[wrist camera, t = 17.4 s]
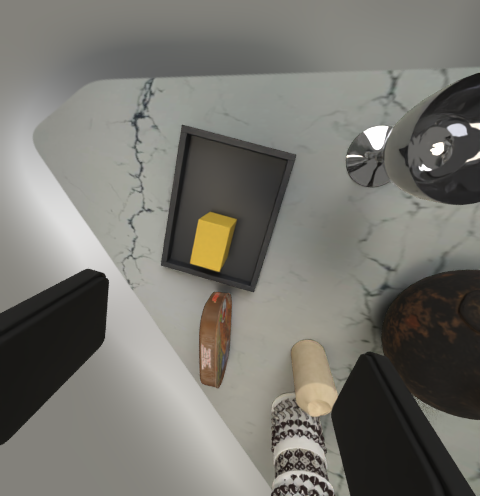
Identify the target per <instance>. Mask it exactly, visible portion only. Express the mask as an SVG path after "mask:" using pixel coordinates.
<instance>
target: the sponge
mask: <svg viewBox="0 0 480 496" xmlns="http://www.w3.org/2000/svg"><path fill="white" fill-rule="evenodd" d="M236 221H237V219H234V218H231V217H227V216H223V215H220V214H216V213H213V212H209V213H208V214H206V215H204V216H203V217H201V218H200V219H199V220H198V225H197V230H196V235H195V240H194V245H193V250H192V255H191V261H190V264H194V265H197V266H200V267H204V268H207V269H211V270H214V271H218V272H220V270H221V268H222V267H223V265H224V263H225V261H226V259H227V257H228V253H229V249H230V245H231V241H232V237H233V233H234V229H235V225H236Z"/></svg>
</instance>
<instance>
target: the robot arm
mask: <svg viewBox="0 0 480 496" xmlns="http://www.w3.org/2000/svg"><path fill="white" fill-rule="evenodd" d="M108 288H109V280H108V279H107V278H106V276H105V274H104V273H101V272H98V271H95V270H91V269H85V270H83V271H81V272H79V273H77V274H75V275H74V276H71V277H70V278H68V279H66V280H64V281H62V282H60V283H58V284H56V285H54V286H52V287H50V288H48V289H46V290H44V291H43V292H41V293H39V294H37V295H35V296H33V297H31V298H30V299H27V300H25V301H23V302H21V303H19V304H18V305H16V306H14V307H12V308H10V309H8V310H6V311H4V312H2V313H0V445H2V444H4V443H5V442H7V441H8V440H9V439H10V438H11V437H12V436H13V435H14V434H15V433H16V432H17V431H18V430H19V429H20V428H21V427H22V426H23V425H24V424H25V423H26V422H27V421H28V419H30V418H31V417H32V416H33V415H34V414H35V413H36V412H37V411H38V410H39V409H40V407H41V406H42V405H43V404H44V403H45V402H46V401H47V400H48V399H49V398H50V397H51V396H52V395H53V394H54V393H55V392H56V391H57V390H58V389H59V388H60V387H61V386H62V385H63V384H64V383H65V382H66V381H67V380H68V379H69V378H70V377H71V376H72V375H73V374H74V373H75V372H76V371H77V370H78V369H79V368H80V367H81V366H82V365H83V364H84V363H85V362H86V361H87V360H88V359H89V358H90V357H91V356H92V355H93V354H94V352H96V350H98V349H99V347H100V346H101V345H102V343H103V341H104V339H105V330H106V316H107V302H108ZM331 418H332V422H333V426H334V430H335V435H336V439H337V443H338V447H339V451H340V455H341V459H342V463H343V467H344V471H345V475H346V479H347V483H348V488H349V492H350V496H476V495H475V494H474V492H473V491H472V489H471V487H470V486H469V484H468V483H467V481H466V480H465V478H464V476H463V475H462V473H461V472H460V470H459V468H458V467H457V465H456V464H455V462H454V461H453V459H452V457H451V456H450V454H449V453H448V451H447V450H446V448H445V446H444V445H443V443H442V442H441V440H440V438H439V437H438V435H437V434H436V432H435V431H434V429H433V427H432V426H431V424H430V423H429V421H428V419H427V418H426V416H425V415H424V413H423V412H422V410H421V408H420V407H419V405H418V404H417V402H416V401H415V399H414V397H413V396H412V394H411V393H410V391H409V389H408V388H407V386H406V385H405V383H404V382H403V380H402V378H401V377H400V375H399V374H398V372H397V371H396V369H395V367H394V366H393V364H392V363H391V361H390V360H389V358H388V357H386V356H383V355H380V354H376V353H373V352H367V353H366V354H362V355H360V357H359V358H358V360H357V362H356V364H355V366H354V368H353V370H352V371H351V373H350V375H349V377H348V379H347V381H346V383H345V384H344V386H343V388H342V390H341V392H340V394H339V396H338V397H337V399H336V401H335V403H334V405H333V407H332V411H331Z"/></svg>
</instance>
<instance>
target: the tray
mask: <svg viewBox="0 0 480 496" xmlns="http://www.w3.org/2000/svg"><path fill="white" fill-rule="evenodd" d="M295 158H296V155H295V154H291V153H288V152H284V151H280V150H276V149H272V148H269V147H265V146H261V145H257V144H253V143H250V142H246V141H242V140H238V139H234V138H231V137H227V136H223V135H219V134H215V133H212V132H208V131H204V130H200V129H196V128H193V127H189V126H185V125H182V128H181V135H180V141H179V148H178V155H177V161H176V168H175V174H174V181H173V188H172V194H171V201H170V208H169V214H168V221H167V227H166V234H165V241H164V247H163V254H162V261H161V266H164V267H168V268H171V269H175V270H178V271H182V272H185V273H189V274H192V275H196V276H199V277H202V278H206V279H209V280H213V281H216V282H220V283H223V284H227V285H230V286H233V287H237V288H240V289H244V290H247V291H251V292H254V291H255V287H256V284H257V281H258V278H259V274H260V271H261V268H262V265H263V261H264V258H265V255H266V252H267V249H268V245H269V242H270V239H271V236H272V232H273V229H274V226H275V223H276V219H277V216H278V213H279V210H280V207H281V203H282V200H283V197H284V194H285V190H286V187H287V184H288V181H289V177H290V174H291V171H292V168H293V165H294V161H295ZM209 212H213V213H216V214H220V215H223V216H227V217H231V218H234V219H237V221H236V225H235V229H234V233H233V237H232V241H231V245H230V249H229V253H228V257H227V259H226V261H225V263H224V265H223V267H222V268H221V270H220V272H218V271H214V270H211V269H207V268H204V267H200V266H197V265H194V264H190V261H191V255H192V250H193V245H194V240H195V235H196V230H197V225H198V220H199V219H200V218H201V217H203V216H204V215H206V214H208V213H209Z"/></svg>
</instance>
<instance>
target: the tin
mask: <svg viewBox="0 0 480 496" xmlns="http://www.w3.org/2000/svg"><path fill="white" fill-rule="evenodd" d="M231 309H232V300H231V295H230V293H222V292H213V293H212V294H211V296H210V298H209V299H208V301H207V302H206V304H205V306H204V309H203V313H202V317H201V322H200V331H199V364H200V380H201V383H202V384H204V385H208V386H212V387H216V388H219V387H220V385H221V383H222V380H223V377H224V373H225V370H226V365H227V360H228V356H229V348H230V332H231Z"/></svg>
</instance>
